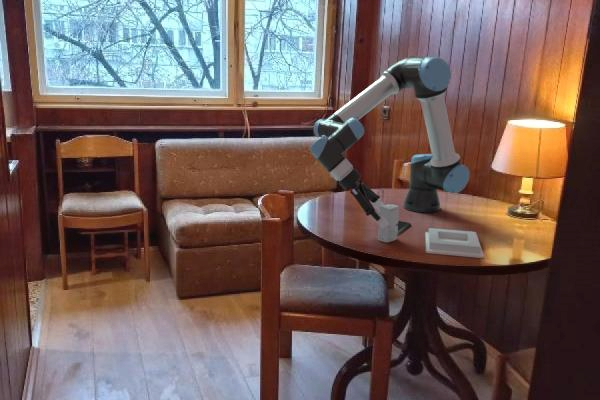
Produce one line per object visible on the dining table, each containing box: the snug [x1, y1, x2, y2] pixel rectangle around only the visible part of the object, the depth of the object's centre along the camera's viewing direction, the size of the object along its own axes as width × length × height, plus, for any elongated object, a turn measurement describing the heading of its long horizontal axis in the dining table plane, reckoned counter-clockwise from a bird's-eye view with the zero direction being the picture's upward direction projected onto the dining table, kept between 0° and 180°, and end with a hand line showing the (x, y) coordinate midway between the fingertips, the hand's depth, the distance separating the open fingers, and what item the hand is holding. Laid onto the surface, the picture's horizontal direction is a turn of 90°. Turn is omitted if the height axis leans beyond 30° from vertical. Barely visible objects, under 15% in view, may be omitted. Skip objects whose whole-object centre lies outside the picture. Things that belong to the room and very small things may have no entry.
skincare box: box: [377, 203, 400, 243], centre depth 184 cm, size 6×4×12 cm
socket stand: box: [424, 227, 485, 259], centre depth 181 cm, size 20×18×3 cm
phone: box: [397, 220, 412, 236], centre depth 199 cm, size 8×1×15 cm
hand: (387, 220), depth 184 cm, fingers open, 13 cm apart
